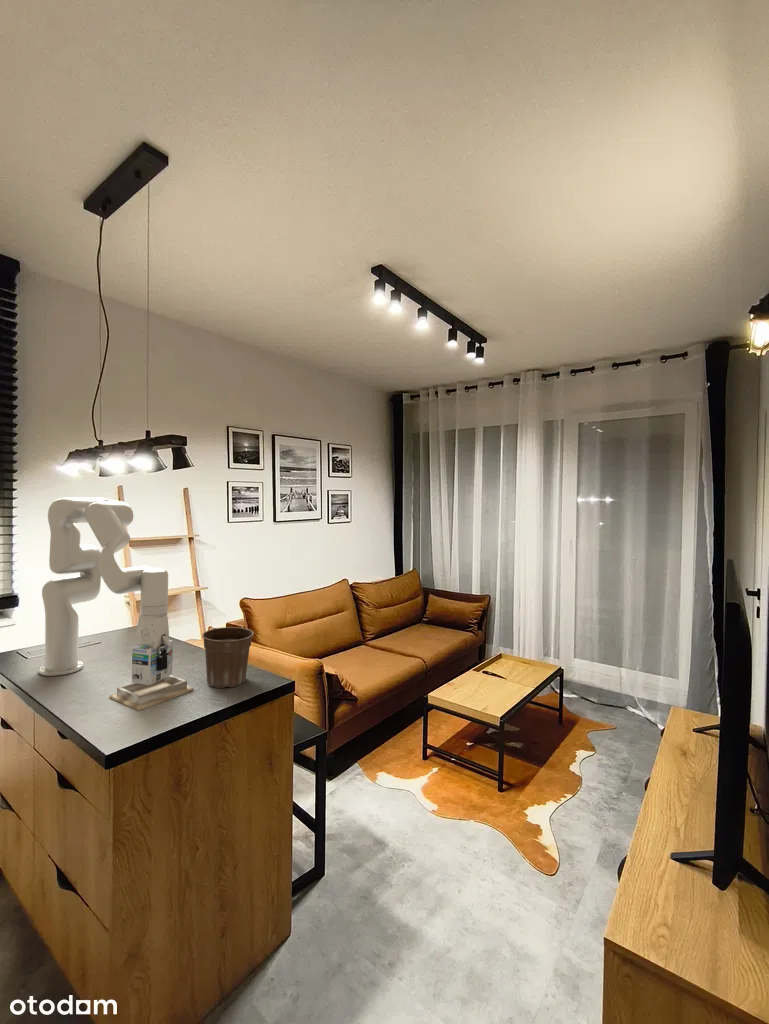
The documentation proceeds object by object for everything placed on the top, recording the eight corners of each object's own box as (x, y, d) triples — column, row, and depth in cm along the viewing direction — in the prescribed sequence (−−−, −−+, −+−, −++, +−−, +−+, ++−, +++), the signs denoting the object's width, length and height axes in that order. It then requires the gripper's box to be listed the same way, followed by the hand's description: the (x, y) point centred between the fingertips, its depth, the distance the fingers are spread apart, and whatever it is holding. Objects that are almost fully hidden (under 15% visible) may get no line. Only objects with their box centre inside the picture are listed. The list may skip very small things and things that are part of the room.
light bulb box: (150, 686, 143) (150, 649, 143) (130, 683, 144) (131, 647, 144) (173, 673, 153) (174, 639, 153) (154, 671, 155) (155, 637, 155)
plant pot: (261, 676, 166) (263, 629, 166) (234, 694, 151) (235, 642, 150) (220, 670, 171) (221, 624, 170) (190, 687, 155) (191, 637, 155)
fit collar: (109, 697, 145) (109, 687, 145) (164, 679, 161) (164, 670, 161) (138, 710, 137) (139, 700, 137) (193, 690, 153) (193, 680, 153)
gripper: (125, 607, 150) (124, 664, 150) (160, 616, 141) (158, 676, 141) (148, 603, 156) (147, 657, 157) (182, 612, 147) (181, 669, 147)
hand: (153, 666), depth 149 cm, fingers closed on light bulb box, 8 cm apart
